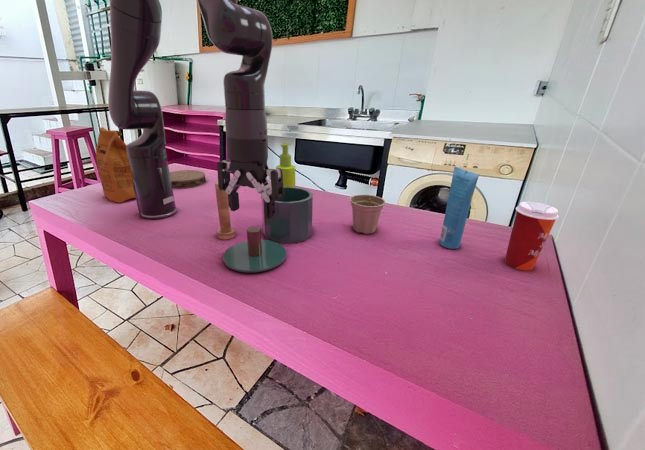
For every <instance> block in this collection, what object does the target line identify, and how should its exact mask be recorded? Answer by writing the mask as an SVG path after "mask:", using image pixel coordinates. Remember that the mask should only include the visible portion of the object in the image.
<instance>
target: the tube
mask: <svg viewBox="0 0 645 450" xmlns="http://www.w3.org/2000/svg"><path fill="white" fill-rule="evenodd" d="M479 178H480V174H479V173H476V172H473V171H469V170H466V169H463V168H461V167H457V166H454V167H453V171H452V178H451V183H450V186H449V187H450V188H449V192H448V198H447V203H446V208H445V213H444V217H443V222H442V226H441V232H440V236H439V241H438V243H439V245H440V246H441V247H443V248H445V249H451V250H453V249H454V250H457V249H459V248H460V247H461V243H462V240H463V239H462V238H463V235H464V231H465V227H466V223H467V219H468V216H469V211H470V207H471V205H472V200H473V197H474V194H475V190H476V186H477V183H478V180H479Z"/></svg>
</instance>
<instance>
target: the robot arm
mask: <svg viewBox="0 0 645 450" xmlns="http://www.w3.org/2000/svg"><path fill="white" fill-rule="evenodd" d="M195 1H196V2H197V4H198V8H199V11H200V14H201V17H202V20H203V22H204V23H203V25H204V27H205V31H206V35H207V37H208V39H209V40H210V42H211V44H213V46H214V47H215V48H216V49H217V50H219V51H220V52H222V53H224V54H227V55H233V56H235V55H236V56H242V57H241V62H240V66H239V68H238V69H237V70H232V71H229V72H226V73H225V75H224V76H223V81H222V82H223V95H224V97H223V98H224V106H225V116H224V121H225V122H224V123H225V124H224V125H225V136H226V147H227V148H226V149H227V157H228V159H224V160H220V161H218V162H217V163H216V168H217V182H218V187H219V189H220V190H224V191H226V193H227V194H228V205H229V211H231V212H236V211H238V210H240V195H239V192H238V190H239V189H240V188H241V187H248V188H250V189H255V190H256V192H257V193H258V194H260V196H261V195H262V197H263V198H264V200H265V202H264V216H265V219H270V218H271V217H273V215H274V214H275V201H277V200H279V199H280V198H282V197H284V188H283V173H282V169H281V168H278V169H276V168H269V165H268V158H269V146H268V145H269V144H268V142H269V141H268V140H269V139H268V119H267V116H266V95H265V84H266V79H267V75H268V70H269V65H270V61H271V60H270V59H271V56H272V51H273V39H274V38H273V30H272V27H271V24H270V21H269V18H267V16H266V14H264V13H263V12H262V11H260V10H258V9H255V8H252V7H248V6H245V5H241V4H238V0H195ZM109 21H110V22H109V23H110V44H111V47H110V54H111V56H110V57H111V58H110V73H109V84H108V94H107V95H108V96H107V102H108V103H107V106H108V112H109V116H110V119H111V121H112V123H113V124H114V126H115V127H117V128H118V129H120V130H127V131H128V130H131V131H133V130H142V133H141V135H140V136H139V137H137V138H136V139H134V140H133V141H131V142H129V143H127V144H126V145H127V146H126V151H127V155H128V159H129V164H130V168H131V172H132V176H133V181H134V182H133V183H132V184H133V189H134V193H135V197H136V198H135V202H136V205H137V210H138V214H139V215H140V217H142V218H143V219H147V220H148V219H149V220H157V219H164V218H167V217H171V216H173V215H175V214H176V213H177V211H178V210H177V206H176V201H175V194H174V189H173V188H172V183H171V177H170V172H171V171H170V167H169V161H168V155H167V151H166V146H167V140H166V132H165V124H164V115H163V110H162V106H161V103H160V100H159V98H158V97H157V95H156V94H155V93H153V92H152V91H150V90H135V89H134V88H135V84H136V81H137V78H138V76H139V74H140V73H141V71H142V70H143V69H144V67H145V66H146V65H147V64H148V62H149V61H150V60H151V58H152V57H153V56H154V55H155V53H156V51H157V49H158V48H159V46H160V42H161V35H162V25H163V24H162V23H163V10H162V4H161V2H160V0H109ZM231 174H232V175H233V176H232V177H231ZM267 177H268V178H267ZM224 182H225V183H224ZM262 185H263V186H262Z"/></svg>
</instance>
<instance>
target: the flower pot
mask: <svg viewBox="0 0 645 450" xmlns="http://www.w3.org/2000/svg"><path fill="white" fill-rule="evenodd" d="M349 202H350V206H351V210H352V211H351V212H352V229H353V230H354V231H355V232H356V233H362V234H364V235H370V234H374V233H375V232H376V230H377V227H378V222H379V219H380V215H381V212H382V210H383V208H384V206H385V205H386V200H385V199H384V198H382V197H380V196H376V195H373V194H355V195H352V196H351V197H349Z"/></svg>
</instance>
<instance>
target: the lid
mask: <svg viewBox="0 0 645 450" xmlns="http://www.w3.org/2000/svg"><path fill="white" fill-rule="evenodd" d="M286 258H287V250H286V248H285V247H284V246H283V244H282V243H279V242H274V241H271V240H269V239H262V229H261V227H259V226H249V227H247V228H246V240H244V241H239V242H238V243H235V244H233V245H231V246H230V247H228V248H226V250H225V251H224V253H223V255H222V261H223V263H224V265H225V266H226V267H227V268H229V269H230V270H233V271H236V272H239V273H260V272H261V273H262V272H267V271H269V270H272V269H274V268H276V267H279V265H281V264H282V263H283V262H285V260H286Z"/></svg>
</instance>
